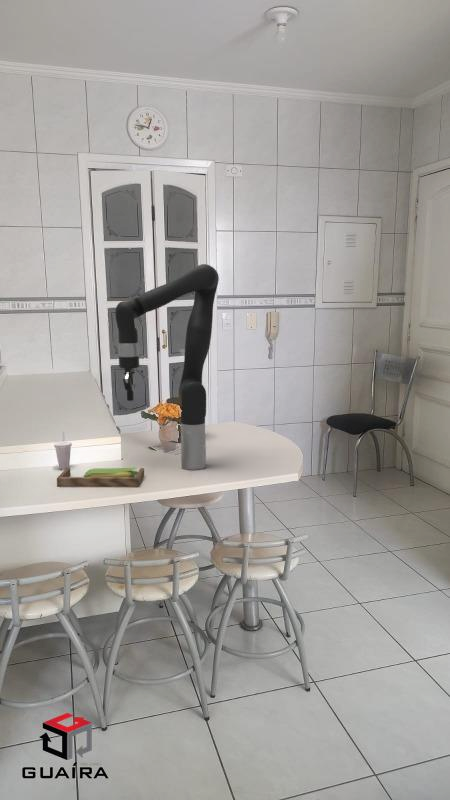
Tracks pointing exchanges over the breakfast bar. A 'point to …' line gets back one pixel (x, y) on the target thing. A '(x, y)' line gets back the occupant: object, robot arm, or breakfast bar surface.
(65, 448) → the smoothie
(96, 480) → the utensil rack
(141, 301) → the robot arm
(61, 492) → the breakfast bar surface
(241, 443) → the breakfast bar surface
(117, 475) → the edible corn
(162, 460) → the breakfast bar surface
